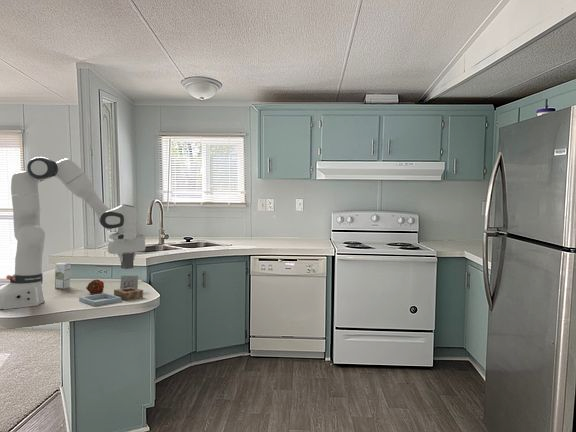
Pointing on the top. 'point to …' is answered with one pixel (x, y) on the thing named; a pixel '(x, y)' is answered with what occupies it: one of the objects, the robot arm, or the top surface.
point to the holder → (128, 293)
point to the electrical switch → (129, 282)
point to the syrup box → (62, 275)
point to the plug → (127, 260)
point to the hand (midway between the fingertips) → (127, 260)
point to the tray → (95, 303)
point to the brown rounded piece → (95, 286)
